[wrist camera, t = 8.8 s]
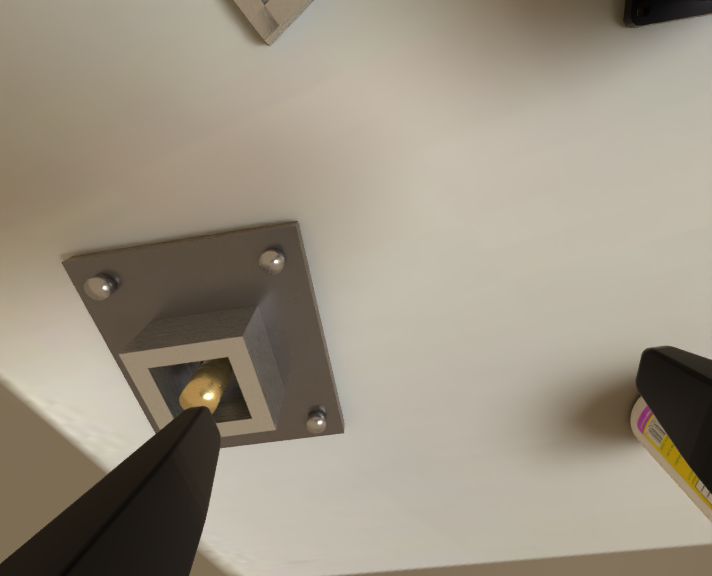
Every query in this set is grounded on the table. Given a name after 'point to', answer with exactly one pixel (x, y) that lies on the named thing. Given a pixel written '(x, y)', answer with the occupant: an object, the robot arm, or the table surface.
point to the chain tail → (271, 15)
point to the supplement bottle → (668, 456)
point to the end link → (204, 342)
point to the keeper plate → (216, 293)
